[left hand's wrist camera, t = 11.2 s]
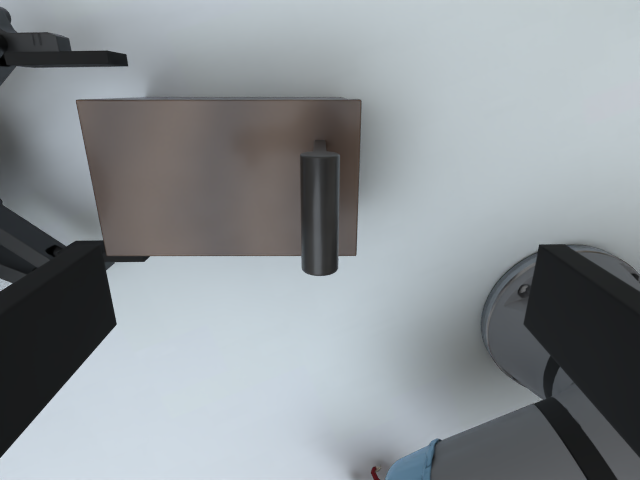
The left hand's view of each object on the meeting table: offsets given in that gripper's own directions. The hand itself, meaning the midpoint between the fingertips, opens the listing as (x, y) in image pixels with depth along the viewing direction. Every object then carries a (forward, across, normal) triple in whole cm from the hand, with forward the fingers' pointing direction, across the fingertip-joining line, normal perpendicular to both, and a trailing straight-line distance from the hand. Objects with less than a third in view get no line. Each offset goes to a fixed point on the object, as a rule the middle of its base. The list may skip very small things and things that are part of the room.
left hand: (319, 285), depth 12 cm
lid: (+15, -6, 0) cm, 16 cm away
